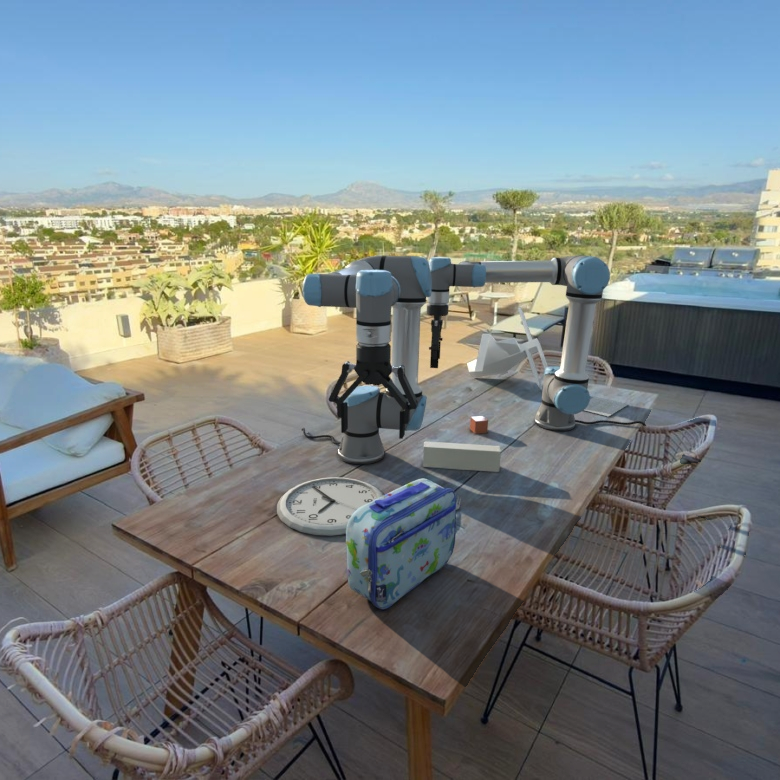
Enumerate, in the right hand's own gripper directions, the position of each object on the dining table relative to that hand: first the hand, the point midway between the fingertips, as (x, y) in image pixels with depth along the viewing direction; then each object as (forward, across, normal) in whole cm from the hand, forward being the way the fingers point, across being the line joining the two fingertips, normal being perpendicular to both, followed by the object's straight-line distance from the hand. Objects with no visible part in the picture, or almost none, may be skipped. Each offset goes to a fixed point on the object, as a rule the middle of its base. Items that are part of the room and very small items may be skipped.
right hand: (435, 363), depth 187 cm
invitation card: (+27, -42, +71) cm, 87 cm away
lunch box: (+27, +87, -1) cm, 91 cm away
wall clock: (+27, +58, -24) cm, 68 cm away
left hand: (-1, +72, -10) cm, 73 cm away
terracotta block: (+27, -4, +17) cm, 32 cm away
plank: (+27, +28, +11) cm, 40 cm away
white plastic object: (+27, -70, +32) cm, 81 cm away
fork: (+27, +59, +8) cm, 65 cm away
